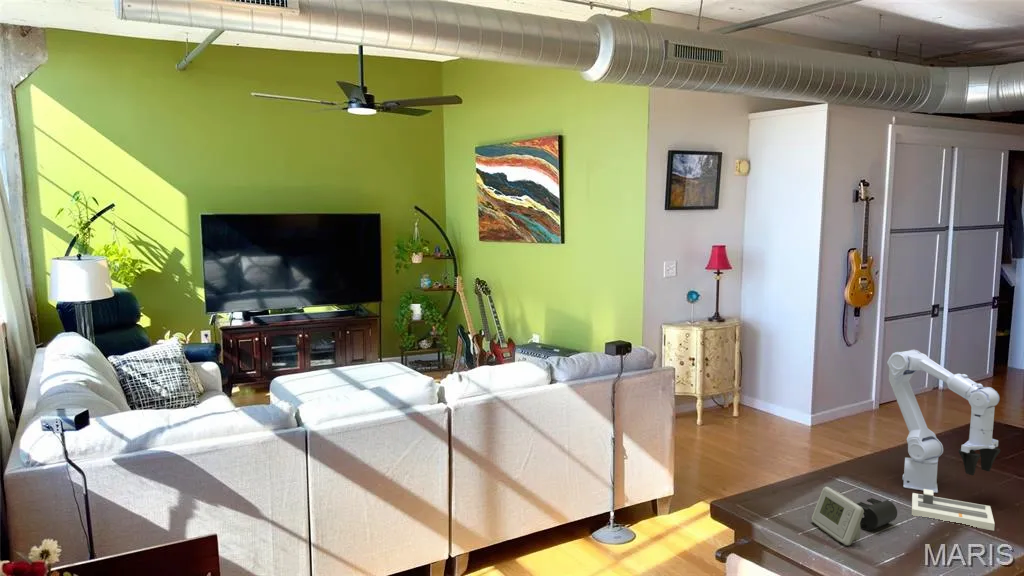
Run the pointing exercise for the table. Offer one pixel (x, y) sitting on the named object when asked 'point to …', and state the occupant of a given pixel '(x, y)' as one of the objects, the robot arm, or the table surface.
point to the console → (954, 511)
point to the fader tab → (928, 496)
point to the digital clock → (838, 516)
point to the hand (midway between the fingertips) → (977, 472)
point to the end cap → (877, 513)
